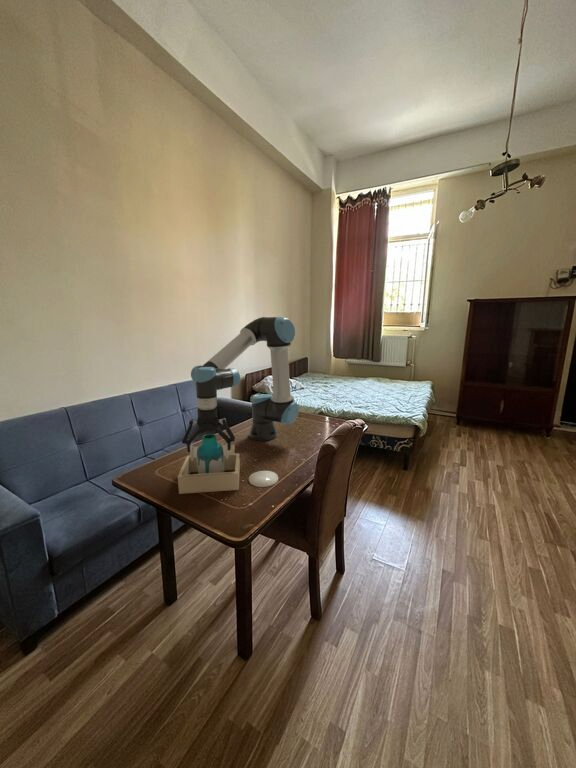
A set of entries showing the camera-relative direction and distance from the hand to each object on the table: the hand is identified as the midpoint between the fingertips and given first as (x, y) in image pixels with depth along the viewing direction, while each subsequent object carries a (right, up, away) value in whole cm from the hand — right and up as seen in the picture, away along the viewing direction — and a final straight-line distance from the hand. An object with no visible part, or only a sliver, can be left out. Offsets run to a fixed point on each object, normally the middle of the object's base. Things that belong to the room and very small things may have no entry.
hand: (209, 458), depth 125 cm
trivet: (+21, -9, +3) cm, 23 cm away
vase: (0, -10, +2) cm, 10 cm away
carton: (0, -9, +2) cm, 10 cm away
